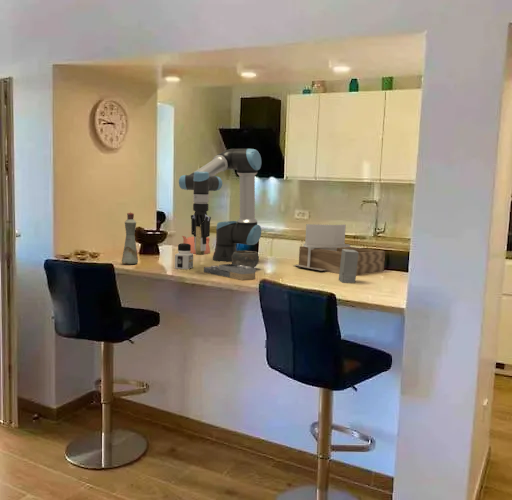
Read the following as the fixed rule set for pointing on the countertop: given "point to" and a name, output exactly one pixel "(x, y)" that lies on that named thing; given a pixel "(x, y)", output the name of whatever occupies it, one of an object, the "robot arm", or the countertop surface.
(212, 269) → the chain end
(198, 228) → the pin
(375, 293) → the countertop surface
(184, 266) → the container
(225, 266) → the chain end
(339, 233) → the white panel on stand
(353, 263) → the skincare box
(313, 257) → the holder caddy
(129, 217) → the bottle
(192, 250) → the teapot
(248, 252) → the bowl
